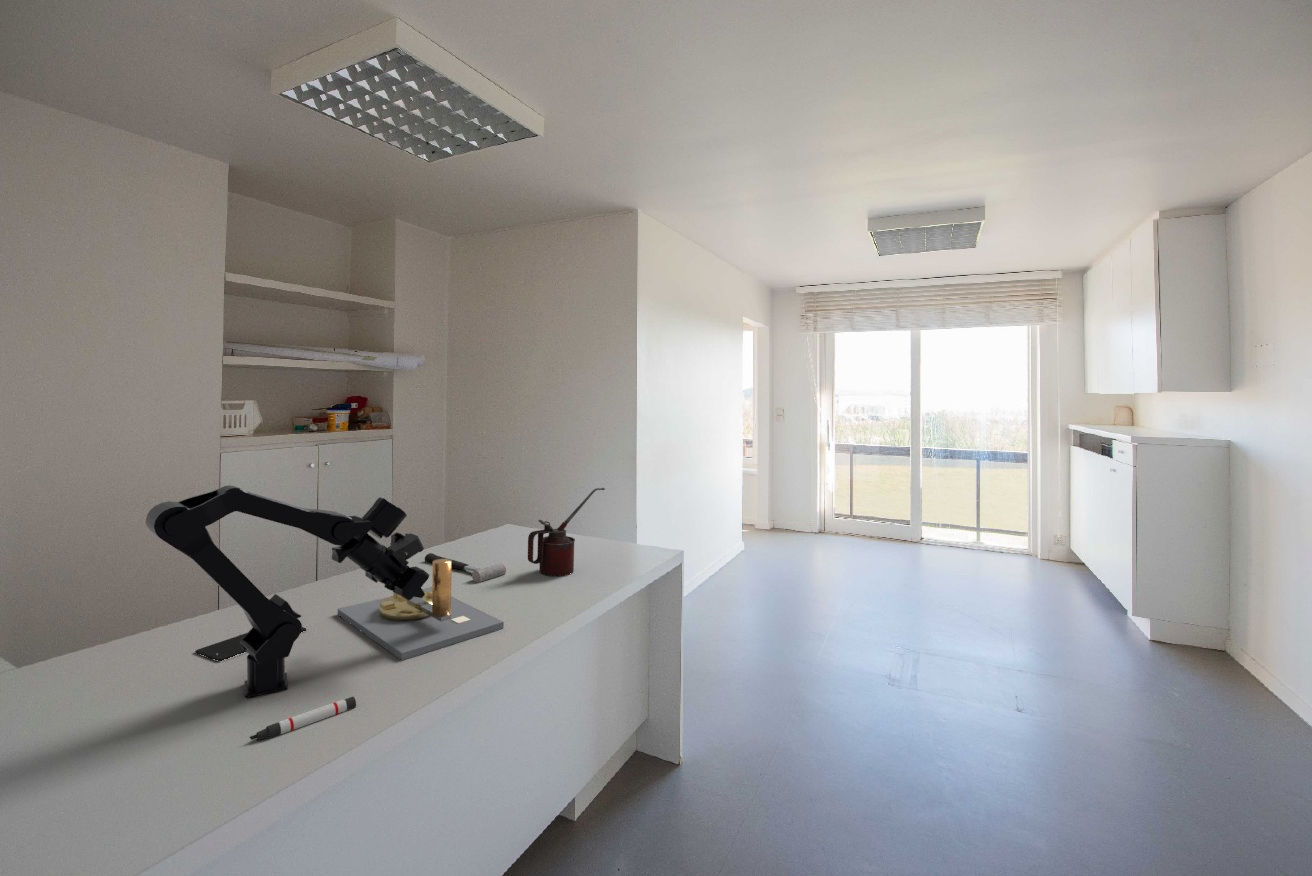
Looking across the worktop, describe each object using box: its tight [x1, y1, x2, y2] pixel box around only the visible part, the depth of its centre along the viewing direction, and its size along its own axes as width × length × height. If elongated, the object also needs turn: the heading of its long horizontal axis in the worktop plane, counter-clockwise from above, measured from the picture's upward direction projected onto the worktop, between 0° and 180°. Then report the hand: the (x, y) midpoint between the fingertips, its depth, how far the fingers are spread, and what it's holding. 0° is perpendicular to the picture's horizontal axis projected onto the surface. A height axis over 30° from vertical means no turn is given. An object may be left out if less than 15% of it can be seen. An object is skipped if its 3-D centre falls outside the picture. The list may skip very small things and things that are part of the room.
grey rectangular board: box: [337, 586, 505, 661], centre depth 139 cm, size 34×24×2 cm
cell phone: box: [195, 626, 307, 661], centre depth 125 cm, size 9×18×1 cm, turn 155°
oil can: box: [527, 487, 606, 577], centre depth 184 cm, size 28×11×25 cm, turn 134°
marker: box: [249, 696, 357, 741], centre depth 95 cm, size 15×2×2 cm, turn 139°
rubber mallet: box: [424, 552, 507, 583], centre depth 180 cm, size 10×4×30 cm
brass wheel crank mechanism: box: [379, 558, 453, 622], centre depth 138 cm, size 24×14×15 cm, turn 49°
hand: (422, 595), depth 128 cm, fingers closed
